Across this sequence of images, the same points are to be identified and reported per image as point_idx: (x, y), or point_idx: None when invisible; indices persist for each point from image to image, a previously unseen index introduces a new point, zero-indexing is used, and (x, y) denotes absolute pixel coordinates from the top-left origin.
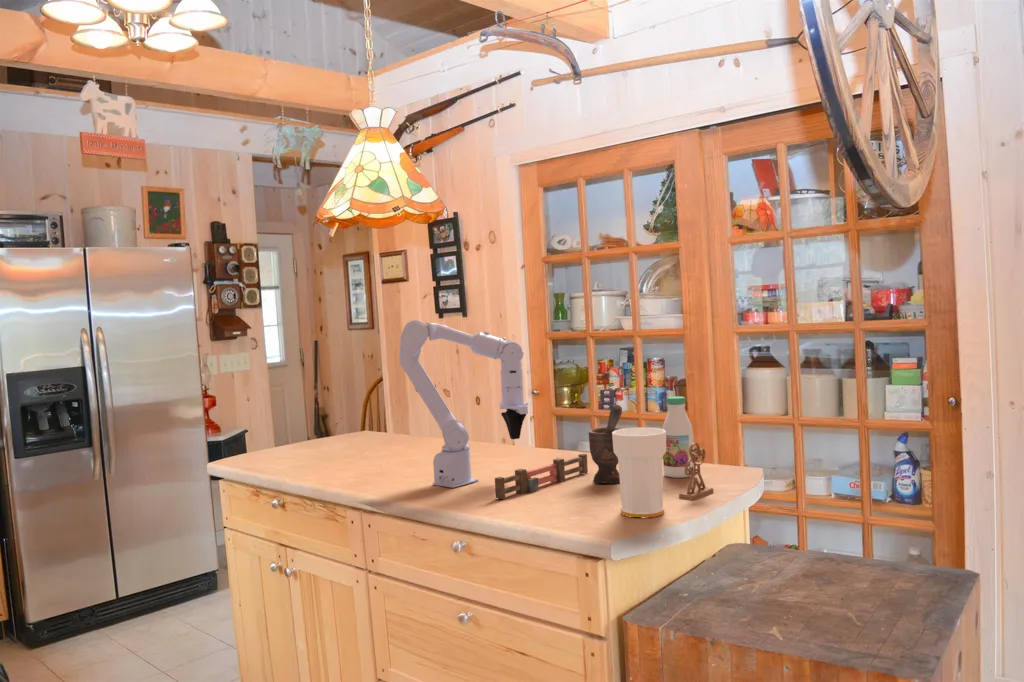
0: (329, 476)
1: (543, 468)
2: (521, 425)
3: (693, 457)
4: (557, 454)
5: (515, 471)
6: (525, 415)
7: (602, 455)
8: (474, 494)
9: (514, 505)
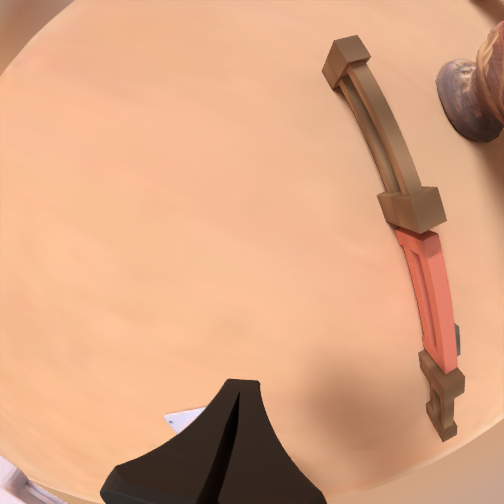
0: (80, 480)
1: (450, 302)
2: (275, 436)
3: None
4: (37, 67)
5: (445, 400)
6: (322, 494)
7: None
8: (357, 437)
9: (480, 389)
